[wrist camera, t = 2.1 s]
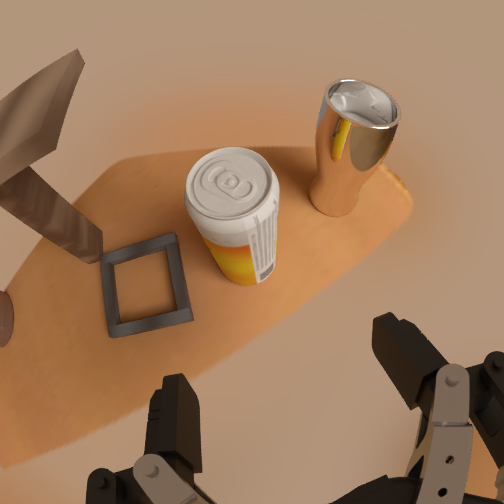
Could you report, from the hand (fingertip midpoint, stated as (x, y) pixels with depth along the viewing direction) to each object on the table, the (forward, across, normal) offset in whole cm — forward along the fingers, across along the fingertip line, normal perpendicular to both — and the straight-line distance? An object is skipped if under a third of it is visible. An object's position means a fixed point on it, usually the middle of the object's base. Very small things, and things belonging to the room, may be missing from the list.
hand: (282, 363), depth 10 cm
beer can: (+20, 0, +5) cm, 20 cm away
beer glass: (+23, -12, +1) cm, 26 cm away
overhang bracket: (+22, +14, +3) cm, 26 cm away
